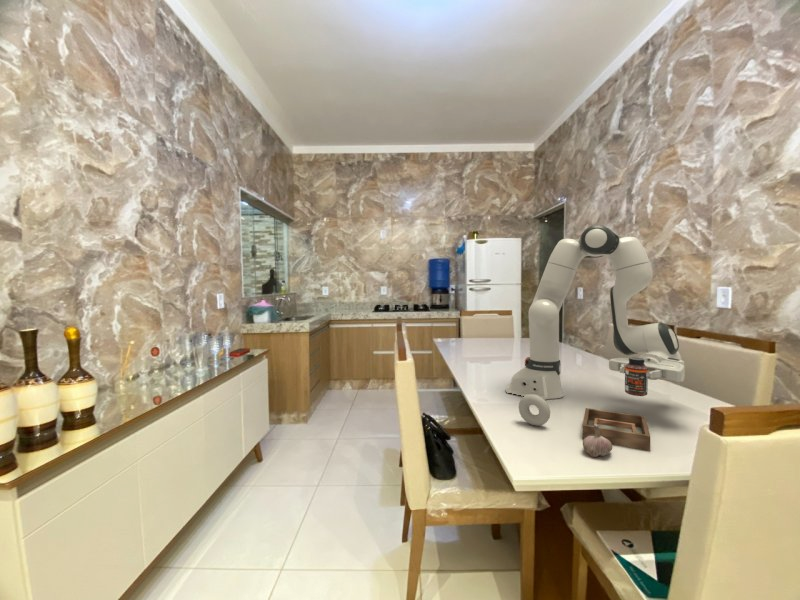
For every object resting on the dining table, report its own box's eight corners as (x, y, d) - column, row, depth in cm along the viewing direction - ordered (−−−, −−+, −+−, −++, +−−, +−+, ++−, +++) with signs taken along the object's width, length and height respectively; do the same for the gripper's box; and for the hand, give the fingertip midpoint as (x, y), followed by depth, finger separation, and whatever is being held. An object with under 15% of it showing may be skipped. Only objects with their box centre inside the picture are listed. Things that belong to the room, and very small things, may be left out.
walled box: (582, 438, 101) (582, 425, 101) (585, 419, 114) (585, 407, 114) (650, 451, 92) (650, 436, 92) (644, 429, 106) (644, 416, 106)
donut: (516, 423, 113) (516, 392, 113) (521, 419, 116) (520, 390, 116) (548, 431, 107) (547, 399, 106) (552, 427, 109) (551, 396, 109)
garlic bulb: (590, 460, 89) (590, 430, 88) (575, 447, 96) (575, 419, 96) (620, 459, 89) (619, 429, 88) (603, 446, 96) (603, 418, 96)
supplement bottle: (625, 395, 108) (625, 359, 107) (623, 390, 113) (623, 355, 113) (649, 397, 105) (649, 360, 105) (646, 392, 110) (646, 356, 110)
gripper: (618, 351, 125) (600, 357, 117) (690, 361, 108) (674, 368, 100) (618, 369, 125) (600, 375, 117) (690, 381, 108) (674, 390, 100)
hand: (635, 372), depth 108 cm, fingers closed on supplement bottle, 6 cm apart
